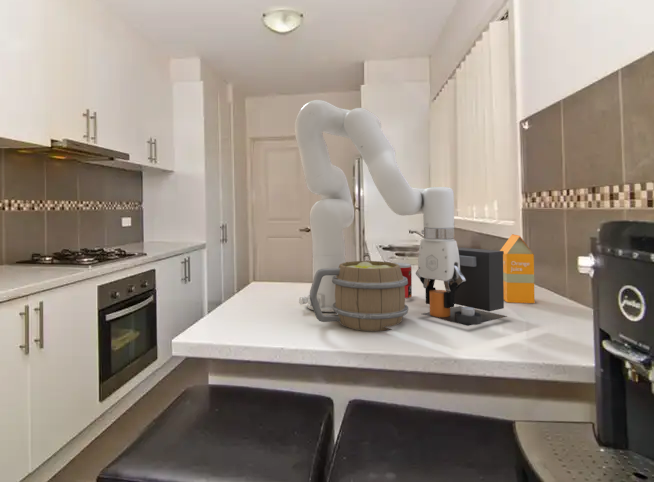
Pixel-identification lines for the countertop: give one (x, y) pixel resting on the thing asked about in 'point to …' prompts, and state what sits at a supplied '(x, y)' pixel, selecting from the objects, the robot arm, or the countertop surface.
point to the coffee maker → (481, 279)
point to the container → (438, 304)
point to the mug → (364, 295)
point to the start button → (468, 311)
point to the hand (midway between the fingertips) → (439, 304)
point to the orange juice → (518, 271)
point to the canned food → (407, 273)
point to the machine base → (468, 320)
